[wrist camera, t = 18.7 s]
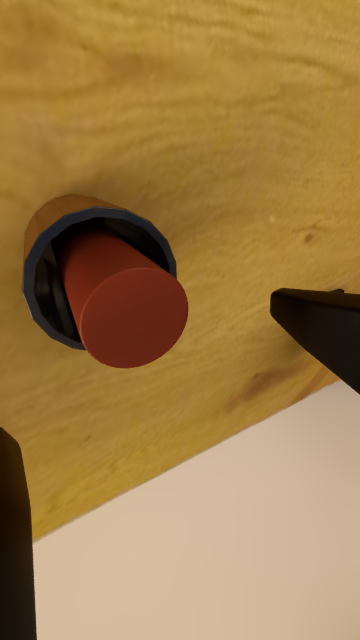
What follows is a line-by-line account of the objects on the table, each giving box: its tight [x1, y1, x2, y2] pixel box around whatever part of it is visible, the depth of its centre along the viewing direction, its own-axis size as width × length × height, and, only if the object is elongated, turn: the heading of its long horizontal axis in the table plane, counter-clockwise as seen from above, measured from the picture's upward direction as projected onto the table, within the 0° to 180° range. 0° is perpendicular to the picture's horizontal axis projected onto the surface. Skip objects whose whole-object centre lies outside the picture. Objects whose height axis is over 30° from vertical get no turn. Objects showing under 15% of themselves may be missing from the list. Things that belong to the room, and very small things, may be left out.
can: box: [22, 194, 177, 350], centre depth 14 cm, size 7×7×7 cm
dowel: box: [54, 220, 188, 368], centre depth 13 cm, size 4×4×10 cm
